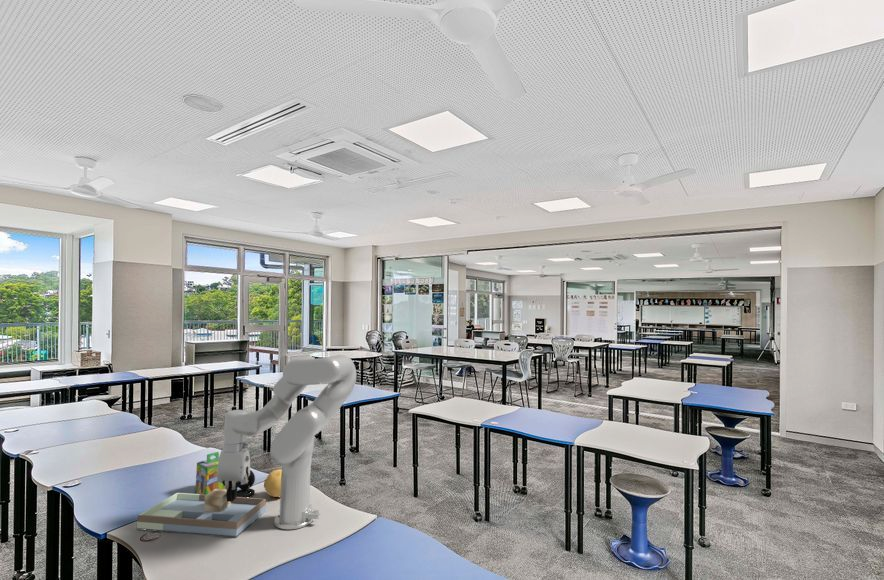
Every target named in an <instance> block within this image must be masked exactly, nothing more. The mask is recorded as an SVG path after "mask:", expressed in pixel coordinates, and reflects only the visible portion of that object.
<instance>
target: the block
mask: <svg viewBox="0 0 884 580" xmlns="http://www.w3.org/2000/svg"><path fill="white" fill-rule="evenodd" d="M226 494H227V490H226V489H215V490H213V491H211V492H210V493H208V494H207V495H205V504H204V511H217V512H221V511H222V510H224V509H225V508H226V507H228V506H229V505H230V504H231V502H230V501H229V502H227V498H226Z"/></svg>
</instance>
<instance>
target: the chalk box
mask: <svg viewBox="0 0 884 580" xmlns="http://www.w3.org/2000/svg"><path fill="white" fill-rule="evenodd" d="M219 453H220V452H218V451H216V452H210V453H207V455H206V459H205V460H201V461H198V462H196V471H195V472H196V475H195V494H203V495H207V494H208V493H210V492H211V491H213V490H215V489H225V486H224V485H223V483H220V482H218V481H217V479H218V478H217V467H218V461H219V457H220V454H219ZM213 456H214V457H215V458H211V457H213Z"/></svg>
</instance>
